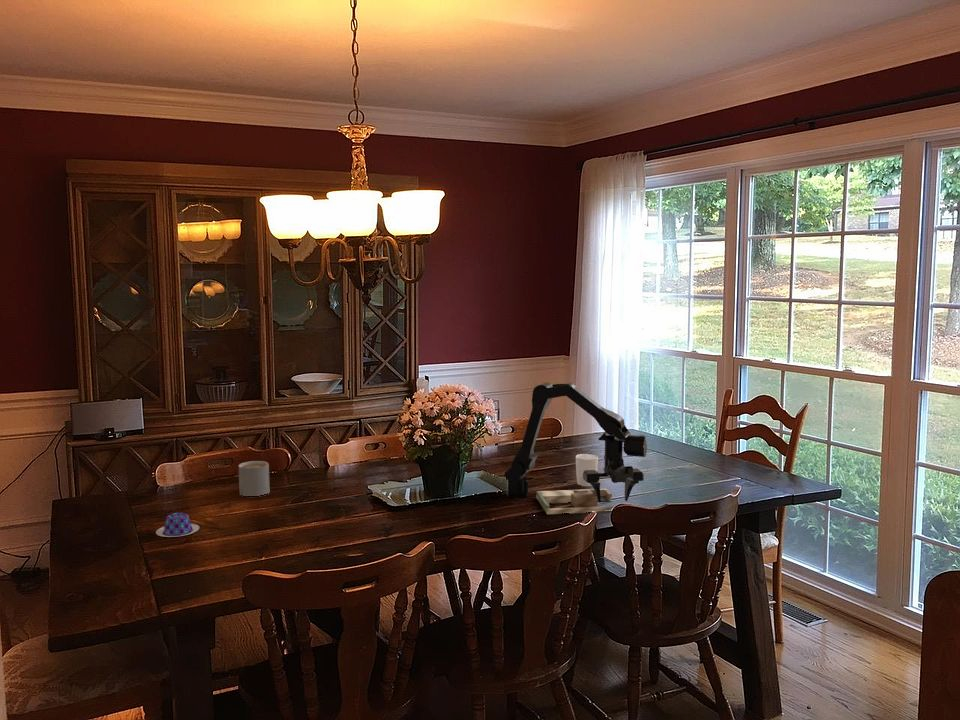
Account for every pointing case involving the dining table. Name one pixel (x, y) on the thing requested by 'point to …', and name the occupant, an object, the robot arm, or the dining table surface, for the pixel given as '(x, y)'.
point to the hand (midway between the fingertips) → (612, 501)
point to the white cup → (585, 466)
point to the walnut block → (583, 499)
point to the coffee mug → (254, 478)
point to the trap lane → (565, 497)
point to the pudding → (177, 525)
